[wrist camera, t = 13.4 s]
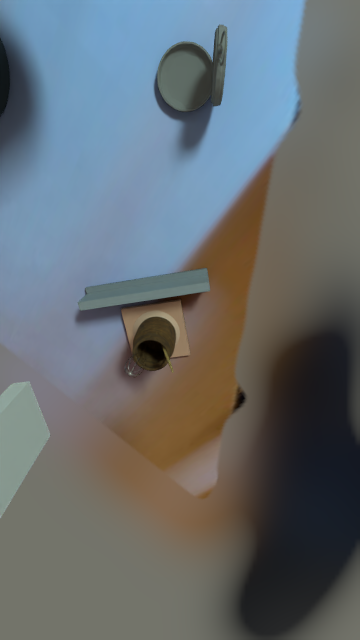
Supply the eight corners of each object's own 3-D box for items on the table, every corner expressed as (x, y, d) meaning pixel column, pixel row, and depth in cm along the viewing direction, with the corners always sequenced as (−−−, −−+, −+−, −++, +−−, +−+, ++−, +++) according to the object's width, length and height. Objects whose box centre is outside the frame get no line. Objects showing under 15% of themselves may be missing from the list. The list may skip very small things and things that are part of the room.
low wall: (86, 287, 48) (75, 296, 44) (206, 267, 46) (207, 275, 42) (91, 306, 49) (82, 316, 45) (209, 287, 47) (210, 297, 43)
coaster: (122, 307, 49) (120, 309, 48) (180, 299, 48) (180, 300, 47) (135, 359, 52) (134, 362, 51) (190, 352, 51) (190, 355, 50)
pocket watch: (147, 69, 38) (130, 29, 28) (210, 20, 36) (214, -41, 26) (183, 137, 40) (179, 120, 31) (244, 94, 38) (259, 63, 29)
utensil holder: (131, 321, 48) (112, 360, 37) (171, 309, 47) (162, 345, 36) (145, 354, 50) (131, 400, 39) (183, 343, 49) (179, 388, 38)
